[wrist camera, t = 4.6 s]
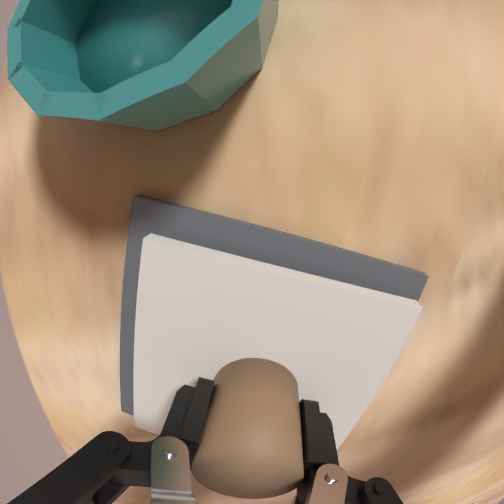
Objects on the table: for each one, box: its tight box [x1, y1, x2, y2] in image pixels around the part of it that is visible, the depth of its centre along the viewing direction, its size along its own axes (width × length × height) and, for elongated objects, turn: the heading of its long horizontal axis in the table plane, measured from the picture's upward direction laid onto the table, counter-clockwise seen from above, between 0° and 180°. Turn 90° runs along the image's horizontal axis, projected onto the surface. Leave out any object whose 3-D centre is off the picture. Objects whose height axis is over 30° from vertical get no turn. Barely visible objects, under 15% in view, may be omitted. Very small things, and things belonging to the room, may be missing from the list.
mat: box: [120, 195, 428, 415], centre depth 15 cm, size 14×14×1 cm
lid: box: [133, 233, 423, 499], centre depth 11 cm, size 12×12×6 cm
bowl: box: [7, 0, 278, 131], centre depth 8 cm, size 10×10×5 cm
